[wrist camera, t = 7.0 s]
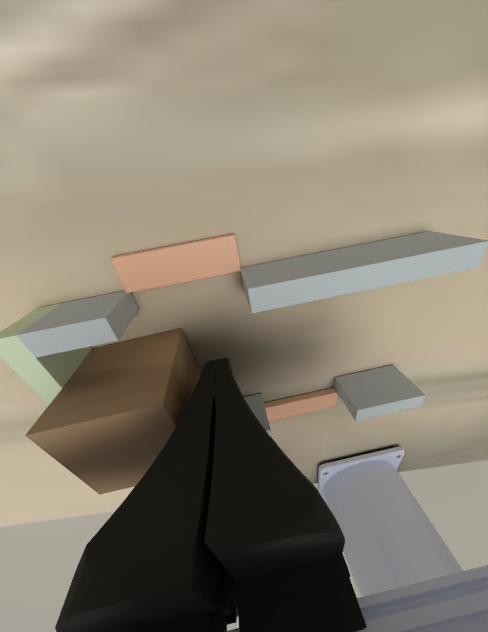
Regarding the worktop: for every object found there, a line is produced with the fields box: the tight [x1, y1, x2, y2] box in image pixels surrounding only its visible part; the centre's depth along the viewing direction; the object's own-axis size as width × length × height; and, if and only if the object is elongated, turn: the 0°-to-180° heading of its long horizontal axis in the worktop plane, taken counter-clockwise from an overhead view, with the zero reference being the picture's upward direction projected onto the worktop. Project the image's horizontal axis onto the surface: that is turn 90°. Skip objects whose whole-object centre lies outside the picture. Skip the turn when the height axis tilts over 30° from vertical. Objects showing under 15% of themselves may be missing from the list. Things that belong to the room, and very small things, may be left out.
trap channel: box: [0, 231, 488, 438], centre depth 11 cm, size 12×18×2 cm
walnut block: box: [25, 328, 201, 494], centre depth 10 cm, size 4×4×4 cm
